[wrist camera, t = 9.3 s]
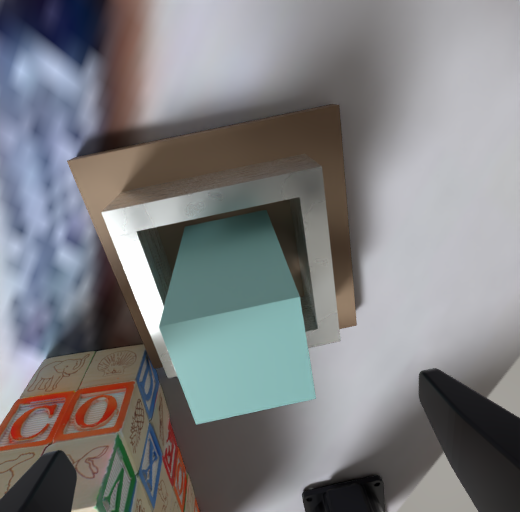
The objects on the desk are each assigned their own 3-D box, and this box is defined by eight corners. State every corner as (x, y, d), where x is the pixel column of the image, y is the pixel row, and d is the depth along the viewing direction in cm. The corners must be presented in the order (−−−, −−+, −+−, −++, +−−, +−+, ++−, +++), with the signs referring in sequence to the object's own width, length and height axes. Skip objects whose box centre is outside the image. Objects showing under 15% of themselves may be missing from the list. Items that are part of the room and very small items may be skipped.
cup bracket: (324, 306, 20) (340, 341, 17) (174, 338, 20) (167, 378, 17) (304, 153, 16) (321, 166, 13) (121, 191, 16) (101, 212, 13)
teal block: (279, 280, 19) (315, 398, 12) (205, 296, 19) (195, 424, 12) (266, 209, 17) (299, 296, 10) (184, 226, 17) (158, 326, 10)
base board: (350, 315, 22) (356, 325, 21) (156, 357, 21) (153, 368, 20) (332, 103, 16) (339, 104, 15) (75, 157, 16) (67, 161, 15)
